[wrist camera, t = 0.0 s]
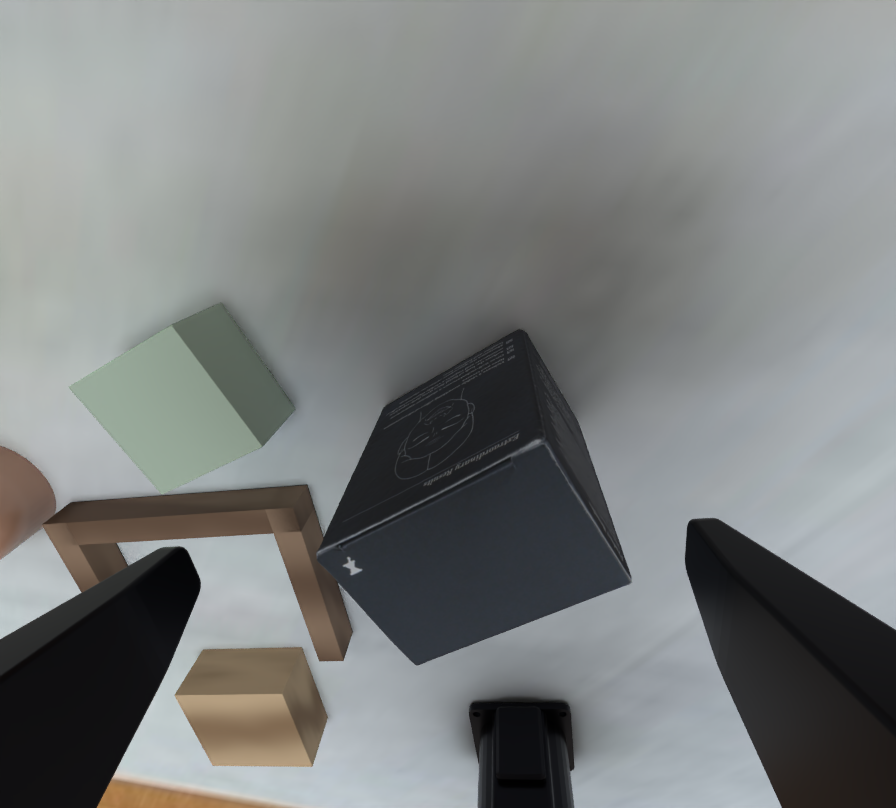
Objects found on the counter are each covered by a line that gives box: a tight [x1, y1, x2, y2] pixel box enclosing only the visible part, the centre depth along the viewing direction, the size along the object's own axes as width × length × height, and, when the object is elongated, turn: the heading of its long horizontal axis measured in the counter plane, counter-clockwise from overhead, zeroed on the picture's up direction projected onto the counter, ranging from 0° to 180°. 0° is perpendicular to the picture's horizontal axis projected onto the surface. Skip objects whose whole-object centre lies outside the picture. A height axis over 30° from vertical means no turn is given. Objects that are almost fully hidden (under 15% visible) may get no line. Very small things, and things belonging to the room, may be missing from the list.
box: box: [316, 330, 632, 665], centre depth 19 cm, size 8×6×11 cm
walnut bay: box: [42, 485, 353, 661], centre depth 29 cm, size 11×14×2 cm
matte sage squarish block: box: [69, 303, 295, 495], centre depth 23 cm, size 6×6×4 cm
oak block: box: [175, 647, 328, 767], centre depth 32 cm, size 7×7×4 cm
